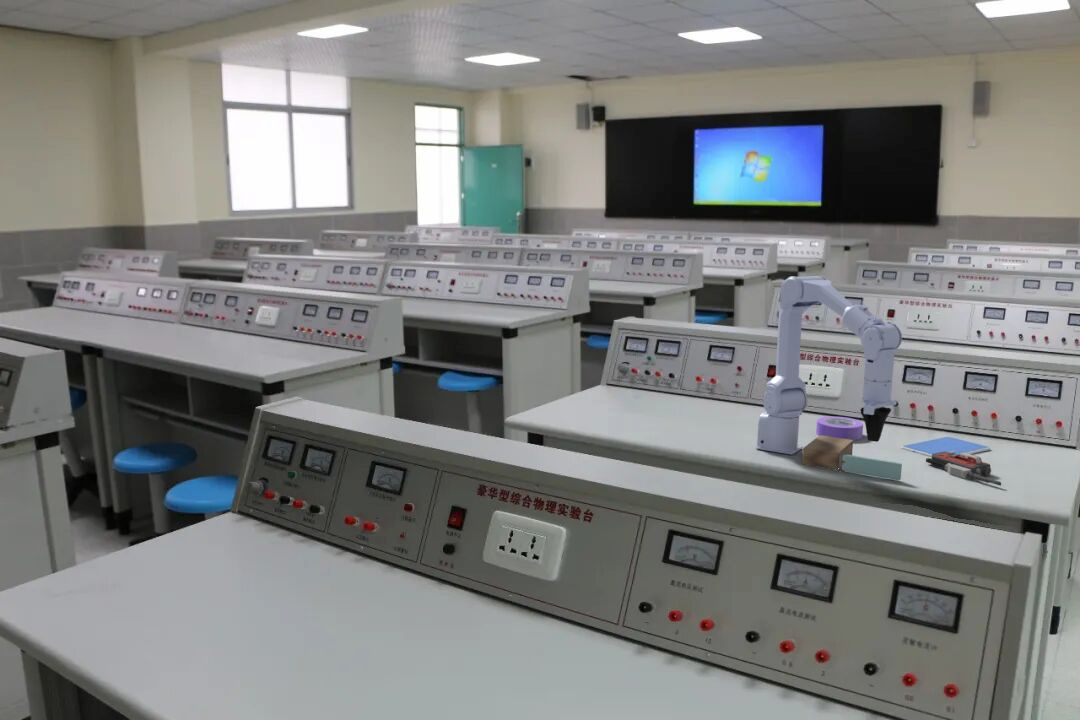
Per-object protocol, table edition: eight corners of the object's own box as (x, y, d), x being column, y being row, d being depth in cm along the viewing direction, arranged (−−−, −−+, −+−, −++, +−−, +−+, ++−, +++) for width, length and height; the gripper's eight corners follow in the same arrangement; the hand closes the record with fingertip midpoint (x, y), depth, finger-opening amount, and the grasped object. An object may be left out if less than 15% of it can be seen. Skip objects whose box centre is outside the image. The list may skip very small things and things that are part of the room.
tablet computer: (942, 462, 211) (943, 457, 211) (898, 450, 222) (898, 445, 221) (991, 452, 221) (992, 447, 220) (946, 440, 231) (947, 435, 231)
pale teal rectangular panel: (841, 470, 201) (842, 454, 200) (842, 469, 202) (843, 453, 201) (899, 480, 194) (901, 464, 193) (900, 479, 195) (902, 463, 194)
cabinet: (801, 465, 206) (802, 447, 205) (818, 450, 218) (820, 433, 218) (841, 472, 201) (842, 453, 200) (857, 456, 213) (858, 439, 213)
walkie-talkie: (918, 466, 207) (997, 491, 190) (920, 448, 206) (999, 471, 189) (943, 461, 211) (1022, 485, 194) (944, 444, 210) (1024, 465, 193)
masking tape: (853, 443, 226) (854, 429, 225) (809, 436, 233) (810, 422, 232) (868, 434, 235) (869, 420, 235) (824, 427, 242) (825, 414, 241)
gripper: (890, 387, 182) (885, 450, 184) (904, 376, 194) (899, 436, 196) (855, 383, 185) (850, 445, 188) (871, 372, 197) (866, 431, 200)
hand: (873, 440), depth 192 cm, fingers closed
